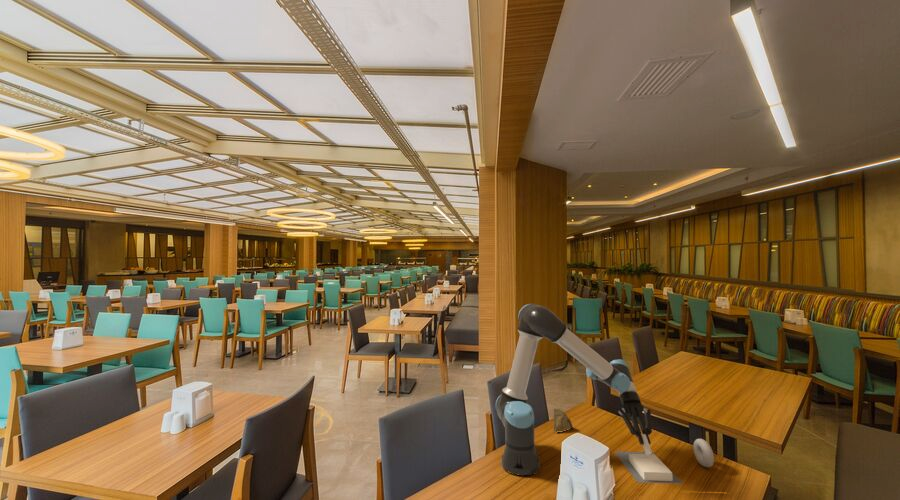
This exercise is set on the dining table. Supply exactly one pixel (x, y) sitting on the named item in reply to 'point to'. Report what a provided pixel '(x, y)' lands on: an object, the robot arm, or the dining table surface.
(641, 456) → the tile
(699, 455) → the donut
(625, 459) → the mat
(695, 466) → the dining table surface
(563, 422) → the rock
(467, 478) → the dining table surface
